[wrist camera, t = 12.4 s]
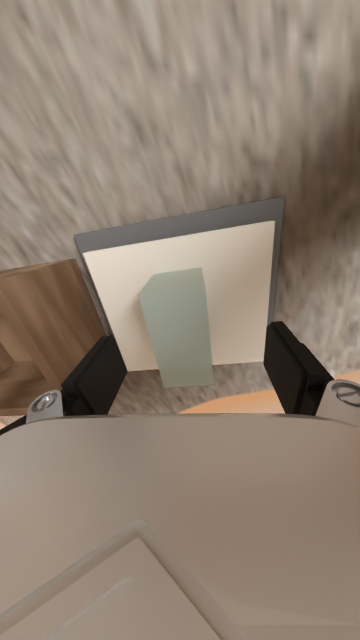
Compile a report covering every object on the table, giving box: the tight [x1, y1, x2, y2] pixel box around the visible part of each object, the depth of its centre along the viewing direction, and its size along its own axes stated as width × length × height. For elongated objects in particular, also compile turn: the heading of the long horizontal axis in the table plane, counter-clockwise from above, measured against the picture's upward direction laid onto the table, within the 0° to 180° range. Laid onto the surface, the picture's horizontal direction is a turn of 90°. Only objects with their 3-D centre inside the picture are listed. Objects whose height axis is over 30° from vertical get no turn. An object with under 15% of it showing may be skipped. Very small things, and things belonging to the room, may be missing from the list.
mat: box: [74, 197, 285, 363], centre depth 19 cm, size 18×16×1 cm
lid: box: [83, 221, 275, 388], centre depth 15 cm, size 15×13×7 cm
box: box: [0, 259, 106, 416], centre depth 18 cm, size 14×12×8 cm
